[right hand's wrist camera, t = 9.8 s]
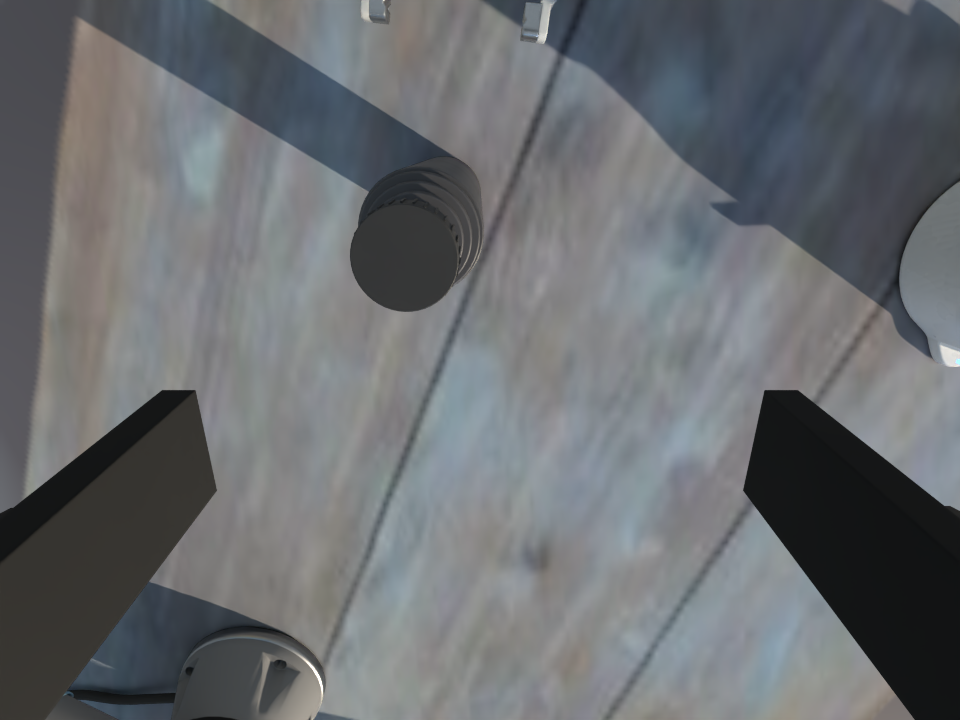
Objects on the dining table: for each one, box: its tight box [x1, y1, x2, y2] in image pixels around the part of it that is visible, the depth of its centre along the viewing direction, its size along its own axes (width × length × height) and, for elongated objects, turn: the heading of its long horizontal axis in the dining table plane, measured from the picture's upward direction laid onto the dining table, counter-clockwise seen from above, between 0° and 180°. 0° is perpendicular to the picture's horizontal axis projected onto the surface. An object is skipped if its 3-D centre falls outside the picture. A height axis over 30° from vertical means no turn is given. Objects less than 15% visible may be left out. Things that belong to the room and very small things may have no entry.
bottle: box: [358, 156, 484, 286], centre depth 31 cm, size 6×6×25 cm
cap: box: [350, 198, 461, 312], centre depth 20 cm, size 4×4×2 cm
